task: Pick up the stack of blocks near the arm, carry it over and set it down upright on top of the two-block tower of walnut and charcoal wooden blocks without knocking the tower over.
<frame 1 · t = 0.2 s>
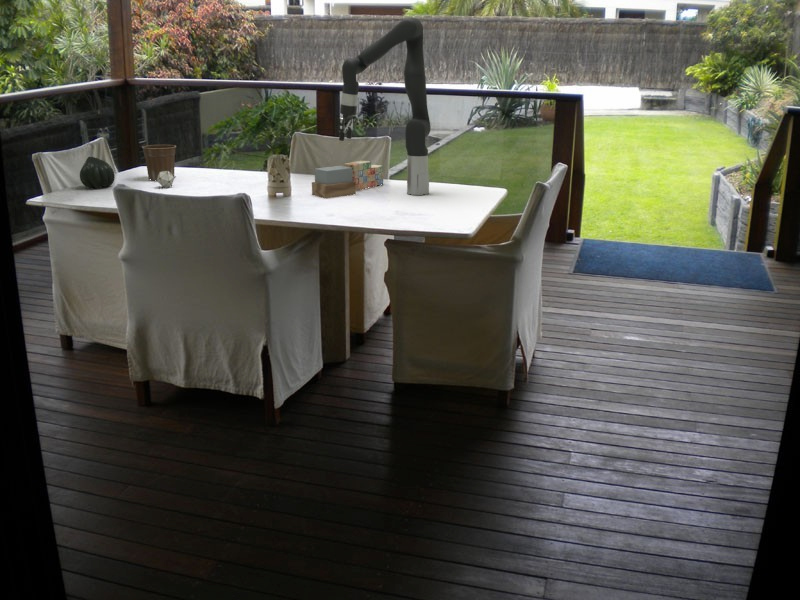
hand: (345, 139, 389), 22 cm above the table, tool pointing down, fingers open, 8 cm apart
tower top block: (333, 181, 378), point 6 cm above the table, touching tower base block
stack of blocks: (364, 188, 398), on the table
game die: (166, 187, 395), on the table
squash: (98, 187, 394), on the table
plant pot: (161, 179, 417), on the table
tower base block: (333, 195, 379), on the table, touching tower top block
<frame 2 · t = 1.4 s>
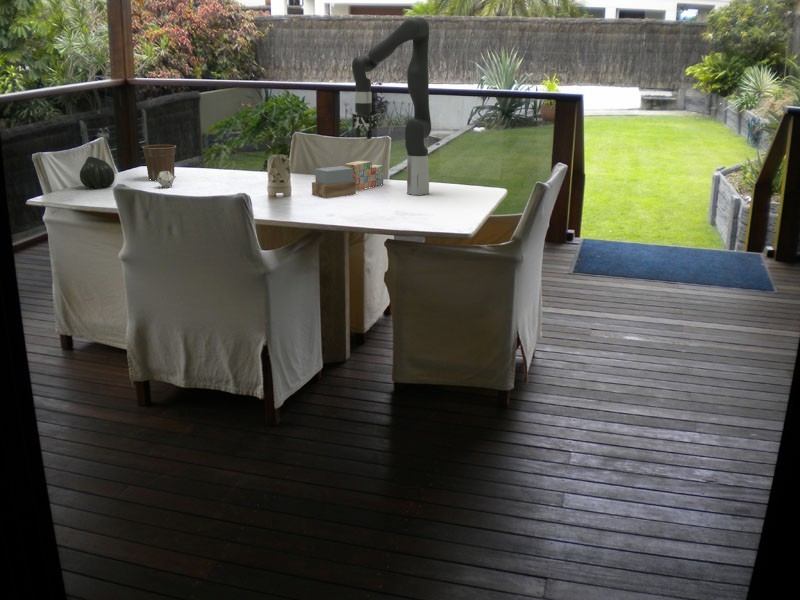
hand: (363, 137, 391), 23 cm above the table, tool pointing down, fingers open, 8 cm apart
tower top block: (334, 182, 377), point 6 cm above the table
tower base block: (334, 195, 379), on the table
everything else where it was.
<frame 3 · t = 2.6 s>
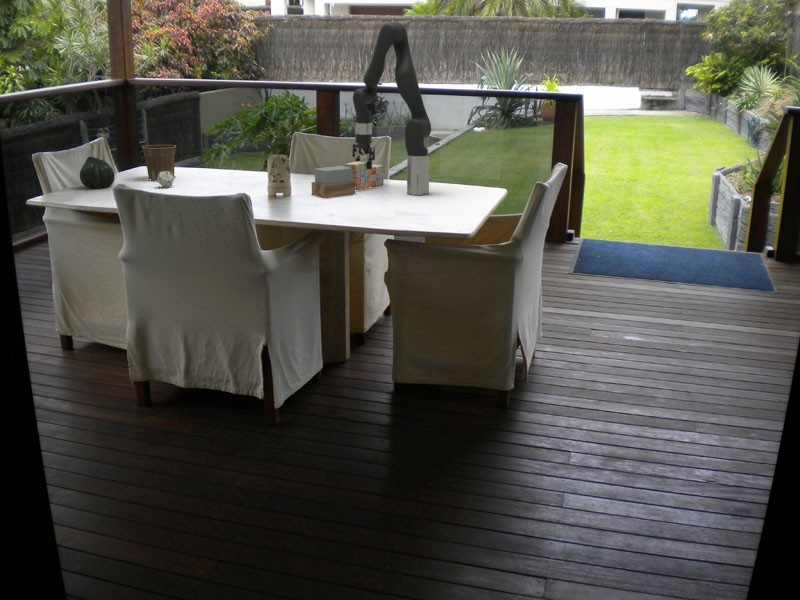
hand: (363, 168, 395), 9 cm above the table, tool pointing down, fingers open, 8 cm apart
tower top block: (333, 181, 378), point 6 cm above the table, touching tower base block
stack of blocks: (365, 187, 398), on the table, touching gripper
tower base block: (333, 195, 379), on the table, touching tower top block
everything else where it was.
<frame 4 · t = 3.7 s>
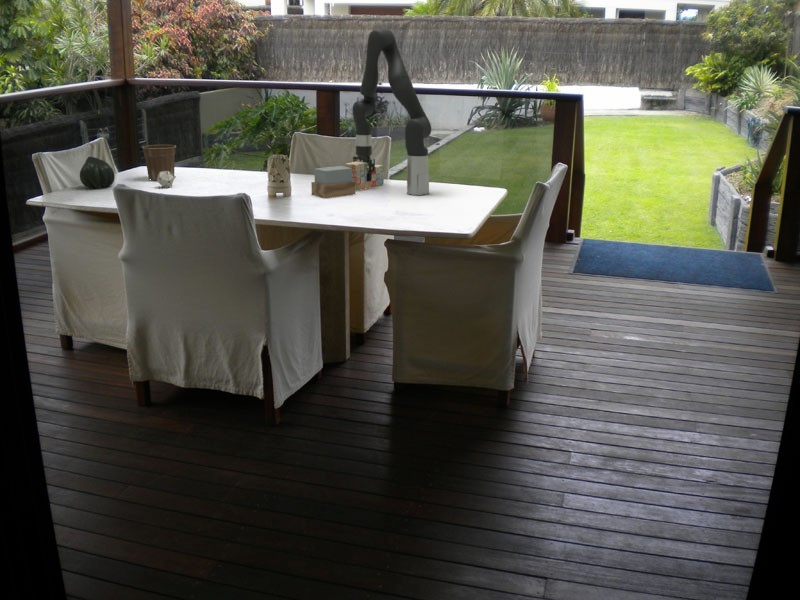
hand: (364, 180, 397), 3 cm above the table, tool pointing down, fingers closed on stack of blocks, 7 cm apart
tower top block: (333, 182, 377), point 6 cm above the table
stack of blocks: (365, 187, 398), on the table, touching gripper
tower base block: (333, 195, 379), on the table
everything else where it was.
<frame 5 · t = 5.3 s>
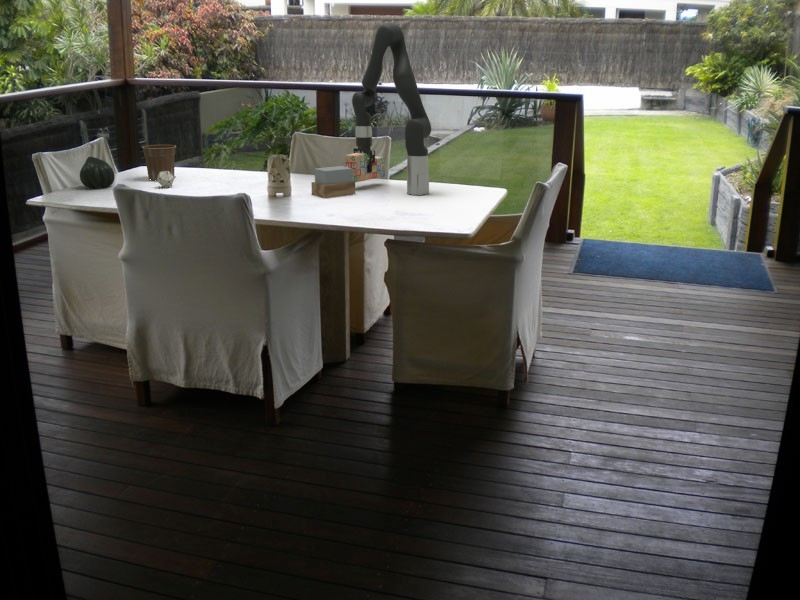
hand: (364, 171, 395), 7 cm above the table, tool pointing down, fingers closed on stack of blocks, 7 cm apart
tower top block: (333, 182, 378), point 6 cm above the table, touching tower base block
stack of blocks: (366, 179, 397), point 4 cm above the table, touching gripper
tower base block: (333, 195, 379), on the table, touching tower top block
everything else where it was.
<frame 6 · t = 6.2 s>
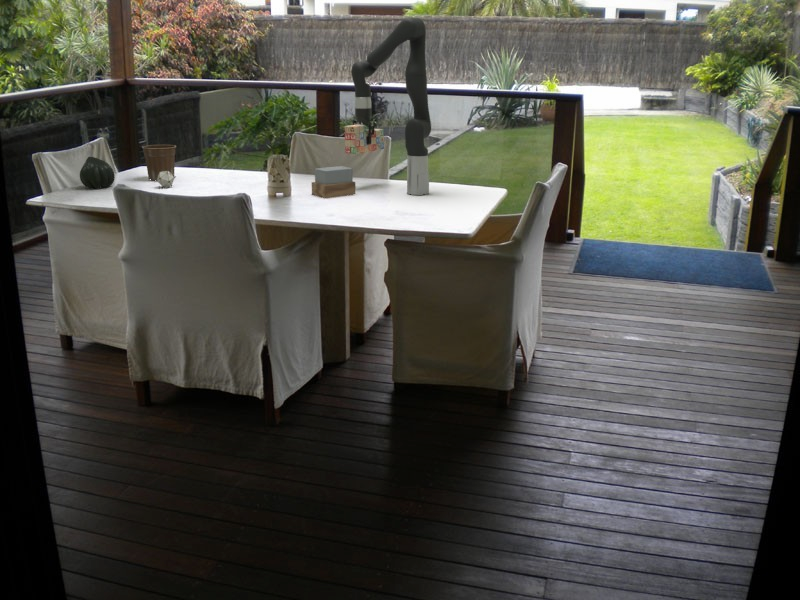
hand: (363, 143, 392), 20 cm above the table, tool pointing down, fingers closed on stack of blocks, 7 cm apart
stack of blocks: (365, 151, 393), point 17 cm above the table, touching gripper
everything else where it was.
when the fingers open (17 cm above the table, at t = 11.7 s): stack of blocks drops 2 cm, resting on tower top block.
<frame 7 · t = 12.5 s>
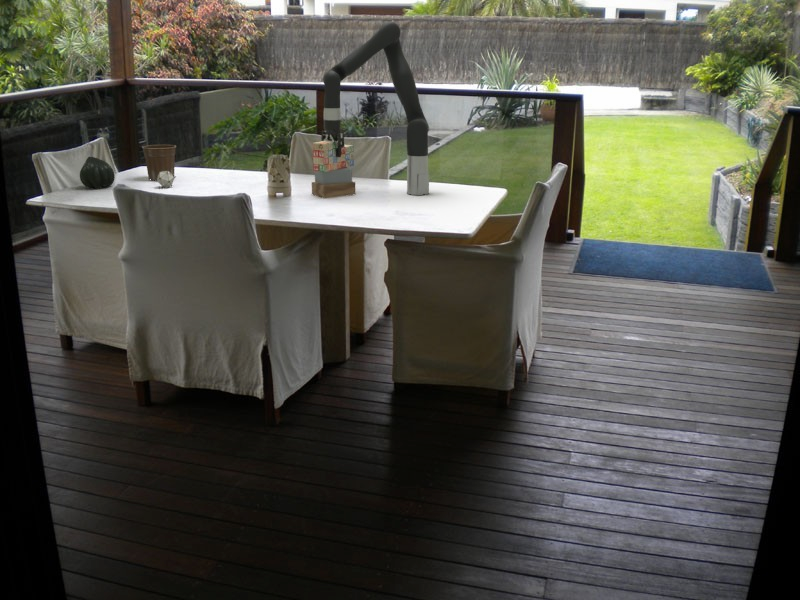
hand: (332, 156, 374), 17 cm above the table, tool pointing down, fingers open, 8 cm apart
tower top block: (333, 182, 378), point 6 cm above the table, touching stack of blocks, tower base block
stack of blocks: (334, 168, 377), point 11 cm above the table, touching gripper, tower top block
everything else where it was.
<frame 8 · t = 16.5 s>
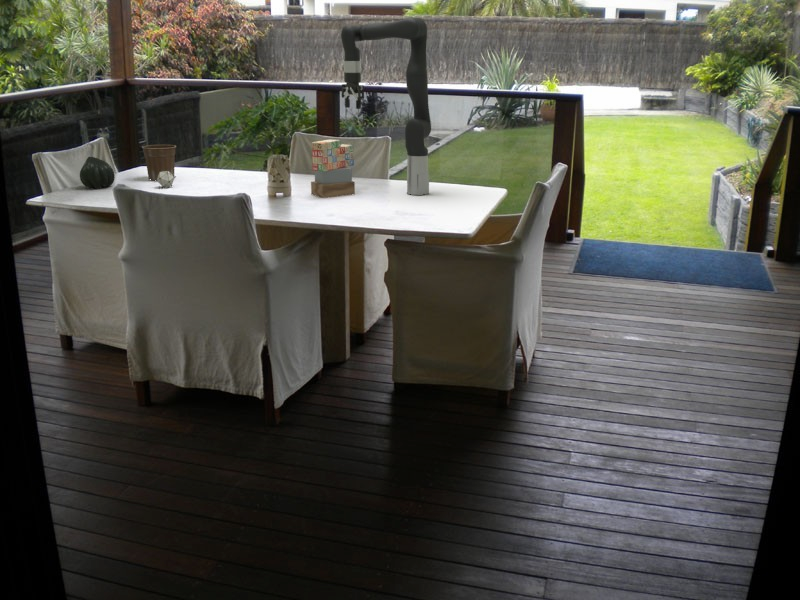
hand: (352, 108, 388), 36 cm above the table, tool pointing down, fingers open, 8 cm apart
stack of blocks: (333, 168, 377), point 11 cm above the table, touching tower top block
everything else where it was.
at the end: stack of blocks inside the target area (1.2 cm from its centre), point 11.5 cm above the table; stack of blocks tilted 0°; tower top block 0.4 cm from the tower base block (horizontally) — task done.
